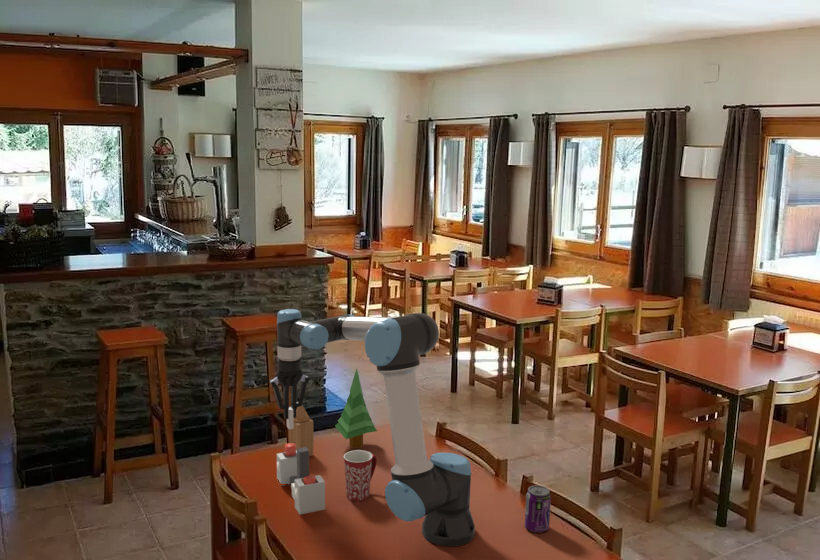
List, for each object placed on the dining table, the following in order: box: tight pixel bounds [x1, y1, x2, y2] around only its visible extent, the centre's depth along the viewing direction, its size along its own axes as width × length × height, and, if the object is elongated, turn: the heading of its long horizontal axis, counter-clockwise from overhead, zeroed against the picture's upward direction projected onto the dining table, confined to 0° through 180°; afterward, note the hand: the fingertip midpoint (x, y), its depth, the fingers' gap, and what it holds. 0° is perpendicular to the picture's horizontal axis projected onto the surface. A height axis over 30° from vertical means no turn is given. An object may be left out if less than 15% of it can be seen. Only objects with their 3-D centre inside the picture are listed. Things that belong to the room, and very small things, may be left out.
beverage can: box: [524, 485, 552, 533], centre depth 213 cm, size 7×7×12 cm
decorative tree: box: [334, 367, 378, 449], centre depth 267 cm, size 14×16×30 cm
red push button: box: [284, 442, 296, 456], centre depth 239 cm, size 4×4×3 cm
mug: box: [343, 449, 378, 502], centre depth 232 cm, size 13×9×14 cm
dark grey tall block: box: [290, 447, 310, 501], centre depth 228 cm, size 6×6×16 cm
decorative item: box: [288, 404, 314, 457], centre depth 259 cm, size 7×7×20 cm
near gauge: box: [304, 475, 316, 485], centre depth 222 cm, size 4×4×3 cm
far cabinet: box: [276, 450, 297, 485], centre depth 241 cm, size 5×8×9 cm, turn 115°
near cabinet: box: [294, 474, 326, 515], centre depth 222 cm, size 5×8×9 cm, turn 115°
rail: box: [289, 476, 297, 485], centre depth 232 cm, size 16×2×2 cm, turn 25°
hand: (290, 427), depth 238 cm, fingers closed
